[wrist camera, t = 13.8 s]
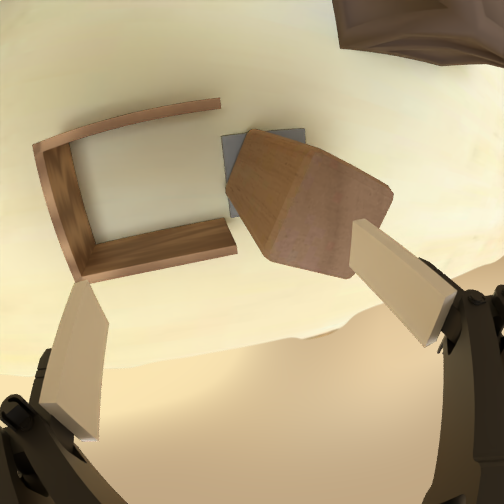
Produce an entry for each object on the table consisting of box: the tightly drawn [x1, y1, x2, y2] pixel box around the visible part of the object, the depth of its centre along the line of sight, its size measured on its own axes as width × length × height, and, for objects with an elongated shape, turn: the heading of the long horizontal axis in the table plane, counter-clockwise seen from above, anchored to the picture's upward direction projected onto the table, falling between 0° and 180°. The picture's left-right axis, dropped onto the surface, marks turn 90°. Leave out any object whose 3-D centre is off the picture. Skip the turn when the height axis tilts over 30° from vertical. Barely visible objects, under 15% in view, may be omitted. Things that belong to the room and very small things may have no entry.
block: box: [226, 129, 394, 279], centre depth 32 cm, size 10×10×20 cm
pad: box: [221, 128, 305, 218], centre depth 40 cm, size 12×12×1 cm
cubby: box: [32, 98, 238, 283], centre depth 33 cm, size 18×21×9 cm
